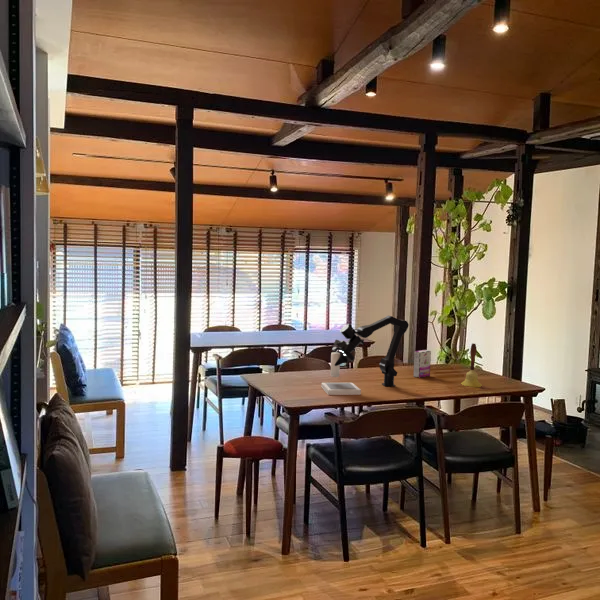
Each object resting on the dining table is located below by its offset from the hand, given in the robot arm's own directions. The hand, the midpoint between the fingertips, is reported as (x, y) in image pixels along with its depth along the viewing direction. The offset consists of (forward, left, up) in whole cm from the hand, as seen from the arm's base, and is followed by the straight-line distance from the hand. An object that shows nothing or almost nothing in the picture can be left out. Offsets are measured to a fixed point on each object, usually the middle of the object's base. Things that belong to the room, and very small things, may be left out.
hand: (333, 364), depth 313 cm
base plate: (-6, -3, -13) cm, 15 cm away
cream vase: (0, -1, -7) cm, 7 cm away
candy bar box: (+32, -65, -14) cm, 74 cm away
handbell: (+8, -87, -14) cm, 89 cm away
